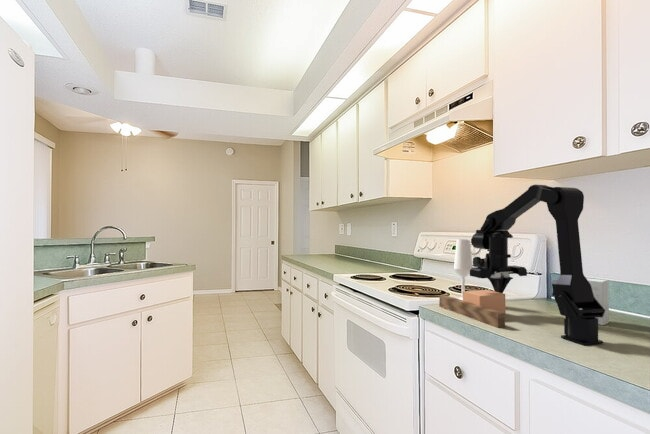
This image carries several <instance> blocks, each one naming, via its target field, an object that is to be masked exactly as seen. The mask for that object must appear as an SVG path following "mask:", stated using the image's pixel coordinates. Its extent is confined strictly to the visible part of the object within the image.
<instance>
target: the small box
mask: <svg viewBox="0 0 650 434" xmlns="http://www.w3.org/2000/svg"><path fill="white" fill-rule="evenodd" d="M586 279H587V280H588V282H589V283H590V285H591V287H592V291H593V295H594V298H595V299H596V300H597V301H598V302H599V303H600V305H601V306H602V307H603V308H604V309H605V313H604V315H603V317H595V318H598V326H600V325H601V326H604V325H607V324H608V323H609V322H610V302H609V301H610V297H609V293H610V292H609V291H610V290H609V280H608V279H601V278H600V279H599V278H589V277H586ZM579 310H583V309H582V308H580V309H579Z"/></svg>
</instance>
